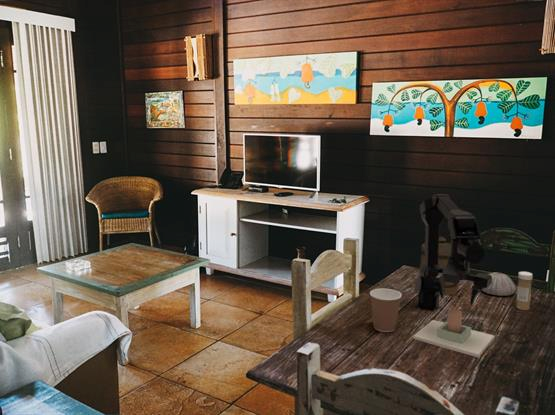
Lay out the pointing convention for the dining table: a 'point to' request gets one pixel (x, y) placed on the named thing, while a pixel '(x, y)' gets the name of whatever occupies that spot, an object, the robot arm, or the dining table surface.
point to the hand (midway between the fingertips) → (456, 301)
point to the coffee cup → (385, 308)
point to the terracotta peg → (454, 321)
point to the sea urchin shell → (500, 285)
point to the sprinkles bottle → (524, 290)
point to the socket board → (455, 338)
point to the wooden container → (442, 263)
